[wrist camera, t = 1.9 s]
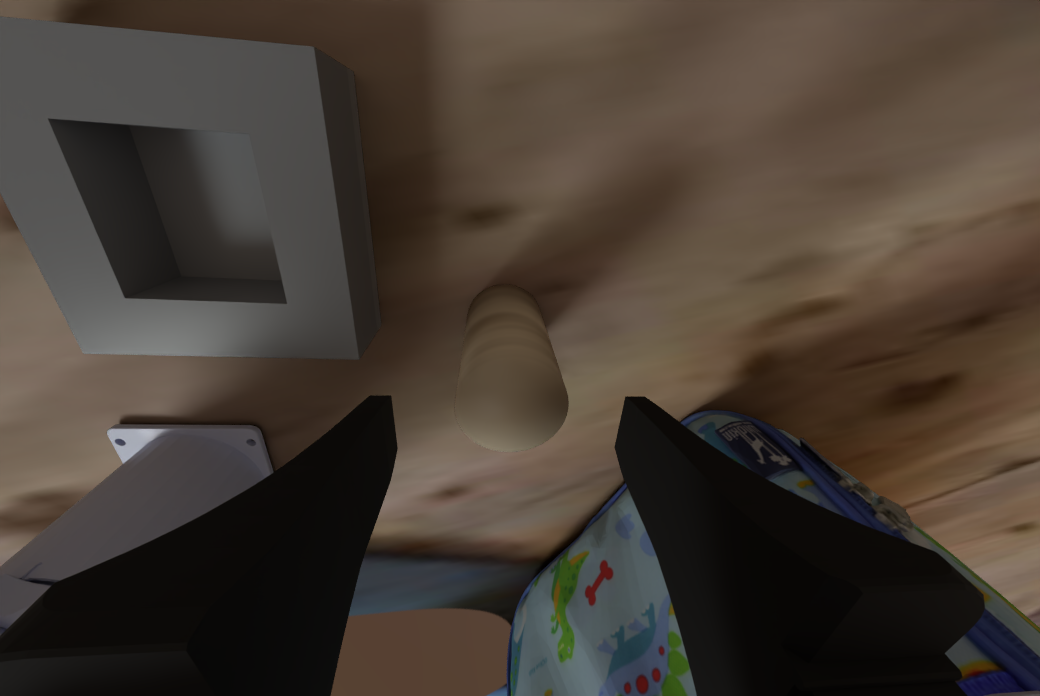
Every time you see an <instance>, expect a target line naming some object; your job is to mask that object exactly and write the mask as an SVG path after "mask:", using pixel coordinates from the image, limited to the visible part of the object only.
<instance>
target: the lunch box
mask: <svg viewBox="0 0 1040 696" xmlns="http://www.w3.org/2000/svg"><path fill="white" fill-rule="evenodd" d="M680 423H681V424H683V425H684V426H685V427H687V428H688V429H689V430H691V431H692V432H694V433H695V434H696V435H698V436H699V437H701V438H702V439H703V440H705V441H706V442H708V443H709V444H711V445H712V446H713V447H715V448H717V449H718V450H720V451H721V452H723V453H724V454H726V455H727V456H729V457H730V458H732V459H733V460H735V461H737V462H738V463H740V464H741V465H743V466H745V467H746V468H748V469H750V470H752V471H753V472H755V473H757V474H759V475H760V476H762V477H764V478H766V479H767V480H769V481H771V482H773V483H775V484H777V485H779V486H781V487H782V488H784V489H786V490H788V491H790V492H792V493H794V494H797V495H799V496H801V497H803V498H805V499H807V500H809V501H811V502H813V503H815V504H817V505H819V506H822V507H824V508H826V509H828V510H830V511H833V512H835V513H837V514H840V515H842V516H844V517H847V518H849V519H851V520H854V521H856V522H859V523H861V524H863V525H866V526H868V527H871V528H873V529H876V530H878V531H881V532H884V533H887V534H889V535H892V536H895V537H898V538H900V539H903V540H906V541H908V542H911V543H914V544H917V545H919V546H922V547H925V548H927V549H930V550H933V551H935V552H937V553H938V554H939V555H941V556H942V557H943V558H944V559H945V560H946V561H947V562H949V563H950V564H951V565H952V566H953V567H954V568H955V569H956V570H957V571H959V572H960V573H961V574H962V575H963V576H964V577H965V578H966V579H967V580H968V581H970V582H971V583H972V584H973V585H974V586H975V587H976V588H977V589H978V590H979V591H980V592H981V593H982V594H983V595H984V602H985V610H984V612H983V614H982V616H981V618H980V619H979V621H978V622H977V623H976V624H975V625H974V626H973V627H972V628H971V629H970V630H969V631H968V632H967V633H966V634H965V635H964V636H963V637H962V638H961V639H960V640H959V641H957V642H956V643H955V644H954V645H953V646H952V647H951V648H950V649H949V650H948V651H947V652H946V653H945V654H946V655H947V656H948V658H949V659H950V660H951V661H952V662H953V663H954V664H955V665H956V666H957V667H958V668H959V670H960V671H961V673H962V676H963V677H962V678H961V679H960V680H959V681H955V682H956V683H957V684H958V685H959V687H960V688H961V689H962V690H963V691H964V692H965V693H966V694H967V696H984V695H990V694H998V693H1012V692H1026V691H1040V628H1039V627H1038V626H1037V625H1036V624H1034V623H1033V622H1032V621H1031V620H1030V619H1029V618H1027V617H1026V616H1025V615H1024V614H1023V613H1022V612H1021V611H1019V610H1018V609H1017V608H1016V607H1015V606H1014V605H1012V604H1011V603H1010V602H1009V601H1008V600H1007V599H1005V598H1004V597H1003V596H1002V595H1001V594H1000V593H998V592H997V591H996V590H995V589H994V588H992V587H991V586H990V585H989V584H988V583H986V582H985V581H984V580H983V579H982V578H980V577H979V576H978V575H977V574H976V573H974V572H973V571H972V570H971V569H970V568H968V567H967V566H966V565H965V564H964V563H962V562H961V561H960V560H959V559H958V558H956V557H955V556H954V555H953V554H951V553H950V552H949V551H948V550H946V549H945V548H944V547H943V546H942V545H940V544H939V543H938V542H937V541H935V540H934V539H933V538H932V537H930V536H929V535H928V534H927V533H925V532H924V531H923V530H922V529H920V528H919V527H918V526H917V525H915V524H914V523H913V522H912V521H911V520H910V516H909V515H908V513H907V512H906V509H904V508H903V507H901V506H900V505H898V504H896V503H895V502H893V501H891V500H889V499H887V498H885V497H882V496H878V495H877V494H876V493H874V492H873V491H872V490H870V489H869V488H868V487H867V486H865V485H864V484H863V483H861V482H859V481H858V480H857V479H855V478H854V477H853V476H851V475H850V474H849V473H847V472H845V471H844V470H842V469H841V468H839V467H838V466H836V465H835V464H833V463H832V462H830V461H829V460H827V459H826V458H825V457H824V456H822V455H821V454H820V453H819V452H818V451H817V450H816V449H815V448H813V447H812V446H811V445H810V444H809V443H808V442H807V441H806V440H805V439H804V438H800V440H798V439H797V438H795V437H794V436H792V435H791V434H789V433H787V432H786V431H784V430H781V429H776V428H774V427H773V426H771V425H770V424H767V423H765V422H763V421H761V420H758V419H756V418H753V417H749V416H746V415H742V414H739V413H736V412H731V411H721V410H709V411H703V412H698V413H695V414H693V415H691V416H688V417H687V418H685V419H684V420H683V421H681V422H680ZM507 696H697V695H696V690H695V686H694V682H693V678H692V674H691V671H690V667H689V663H688V660H687V656H686V652H685V648H684V645H683V641H682V637H681V634H680V630H679V627H678V623H677V620H676V617H675V613H674V610H673V606H672V603H671V600H670V596H669V593H668V590H667V587H666V584H665V580H664V577H663V574H662V571H661V568H660V565H659V562H658V559H657V556H656V553H655V551H654V548H653V546H652V543H651V541H650V538H649V536H648V534H647V532H646V529H645V527H644V525H643V522H642V520H641V518H640V515H639V513H638V511H637V508H636V506H635V504H634V502H633V499H632V497H631V495H630V492H629V490H628V488H627V485H626V483H625V484H624V485H623V486H622V487H621V488H620V489H619V490H618V491H617V492H616V494H615V495H614V496H613V497H612V498H611V499H610V500H609V501H608V502H607V503H606V504H605V505H604V506H603V507H602V509H601V510H600V511H599V513H598V514H597V515H595V516H594V517H593V518H592V519H591V521H590V522H589V524H588V525H587V526H586V528H585V529H584V531H583V533H582V534H581V535H580V536H579V537H578V538H577V539H576V540H575V541H574V542H573V543H572V544H570V545H569V546H568V547H567V548H566V549H565V550H564V551H563V552H562V553H560V554H559V555H558V556H557V557H556V558H555V559H554V560H553V561H552V562H551V563H550V564H548V565H547V566H546V567H545V568H544V569H543V570H542V571H541V572H540V573H539V574H538V575H537V576H536V577H535V578H534V579H533V580H532V581H531V583H530V584H529V585H528V587H527V588H526V590H525V591H524V593H523V595H522V597H521V599H520V601H519V604H518V606H517V609H516V612H515V616H514V619H513V623H512V627H511V632H510V639H509V645H508V657H507Z"/></svg>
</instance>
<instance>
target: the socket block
mask: <svg viewBox="0 0 1040 696" xmlns="http://www.w3.org/2000/svg"><path fill="white" fill-rule="evenodd" d="M0 193H1V195H2V197H3V199H4V201H5V203H6V205H7V207H8V209H9V211H10V213H11V215H12V217H13V219H14V221H15V222H16V224H17V226H18V228H19V230H20V232H21V234H22V236H23V238H24V240H25V242H26V244H27V246H28V248H29V250H30V251H31V253H32V255H33V257H34V259H35V261H36V263H37V265H38V267H39V269H40V271H41V273H42V275H43V277H44V279H45V280H46V282H47V284H48V286H49V288H50V290H51V292H52V294H53V296H54V298H55V300H56V302H57V304H58V306H59V308H60V309H61V311H62V313H63V315H64V317H65V319H66V321H67V323H68V325H69V327H70V329H71V331H72V333H73V335H74V337H75V338H76V340H77V342H78V344H79V346H80V348H81V350H82V352H83V354H126V355H171V356H216V357H261V358H306V359H351V360H359V359H360V358H361V356H362V355H363V353H364V352H365V350H366V348H367V347H368V345H369V344H370V342H371V341H372V339H373V338H374V336H375V334H376V333H377V331H378V330H379V328H380V327H381V317H380V308H379V298H378V289H377V280H376V271H375V262H374V253H373V244H372V235H371V225H370V216H369V207H368V198H367V189H366V180H365V171H364V162H363V152H362V143H361V134H360V125H359V116H358V107H357V98H356V89H355V79H354V72H353V71H352V70H350V69H349V68H347V67H345V66H344V65H342V64H341V63H339V62H337V61H336V60H334V59H333V58H331V57H329V56H328V55H326V54H325V53H323V52H321V51H320V50H318V49H317V48H315V47H312V46H301V45H291V44H281V43H270V42H260V41H249V40H239V39H229V38H218V37H208V36H197V35H187V34H177V33H166V32H156V31H145V30H135V29H125V28H114V27H104V26H94V25H83V24H73V23H62V22H52V21H42V20H31V19H21V18H10V17H0Z"/></svg>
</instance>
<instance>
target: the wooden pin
mask: <svg viewBox="0 0 1040 696" xmlns="http://www.w3.org/2000/svg"><path fill="white" fill-rule="evenodd" d="M454 408H455V416H456V419H457V422H458V424H459V426H460V428H461V429H462V431H463V432H464V433H465V434H466V436H468V437H469V438H470V439H471V440H472V441H474V442H475V443H477V444H479V445H480V446H482V447H485V448H487V449H491V450H494V451H500V452H518V451H524V450H528V449H531V448H534V447H536V446H539V445H541V444H543V443H544V442H546V441H547V440H549V439H550V438H551V437H552V436H553V435H554V434H555V433H556V432H557V431H558V430H559V429H560V427H561V426H562V424H563V423H564V421H565V418H566V416H567V412H568V395H567V391H566V388H565V385H564V382H563V379H562V376H561V373H560V370H559V367H558V363H557V360H556V357H555V354H554V351H553V348H552V345H551V342H550V339H549V336H548V333H547V330H546V327H545V324H544V321H543V317H542V314H541V311H540V308H539V306H538V304H537V302H536V300H535V299H534V298H533V297H532V296H531V295H530V294H529V293H528V292H527V291H525V290H524V289H522V288H519V287H517V286H513V285H496V286H492V287H490V288H487V289H485V290H484V291H482V292H481V293H480V294H478V295H477V296H476V297H475V299H474V300H473V301H472V303H471V305H470V307H469V310H468V314H467V321H466V328H465V335H464V342H463V349H462V356H461V363H460V370H459V376H458V383H457V390H456V397H455V407H454Z"/></svg>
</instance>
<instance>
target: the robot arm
mask: <svg viewBox="0 0 1040 696" xmlns="http://www.w3.org/2000/svg"><path fill="white" fill-rule="evenodd" d="M107 434H108V437H109V438H110V440H111V442H112V444H113V446H114V448H115V449H116V451H117V453H118V455H119V457H120V459H121V460H122V462H123V464H122V465H121V466H120V467H119V468H118V469H116V470H115V471H114V472H113V473H112V474H110V475H109V476H108V477H107V478H106V479H104V480H103V481H102V482H101V483H100V484H99V485H97V486H96V487H95V488H94V489H93V490H91V491H90V492H89V493H88V494H87V495H85V496H84V497H83V498H82V499H81V500H79V501H78V502H77V503H76V504H75V505H73V506H72V507H71V508H70V509H69V510H67V511H66V512H65V513H64V514H63V515H61V516H60V517H59V518H58V519H57V520H56V521H54V522H53V523H52V524H51V525H50V526H48V527H47V528H46V529H45V530H44V531H42V532H41V533H40V534H39V535H38V536H36V537H35V538H34V539H33V540H32V541H30V542H29V543H28V544H27V545H26V546H24V547H23V548H22V549H21V550H20V551H18V552H17V553H16V554H15V555H14V556H12V557H11V558H10V559H9V560H8V561H7V562H5V563H4V564H3V565H2V566H1V567H0V696H330V695H331V690H332V685H333V681H334V677H335V672H336V668H337V663H338V658H339V654H340V649H341V645H342V640H343V636H344V632H345V628H346V623H347V619H348V615H349V611H350V607H351V603H352V599H353V595H354V591H355V587H356V583H357V579H358V575H359V571H360V567H361V564H362V561H363V558H364V554H365V551H366V548H367V546H368V543H369V540H370V537H371V534H372V532H373V529H374V526H375V523H376V520H377V518H378V515H379V512H380V509H381V506H382V504H383V501H384V498H385V495H386V492H387V489H388V487H389V484H390V481H391V477H392V473H393V468H394V464H395V459H396V454H397V449H398V448H397V440H396V432H395V424H394V416H393V408H392V399H391V396H369V397H368V398H366V399H365V400H364V401H363V402H362V403H361V404H360V405H358V406H357V407H356V408H355V409H354V410H353V411H352V412H350V413H349V414H348V415H347V416H346V417H345V418H343V419H342V420H341V421H340V422H339V423H338V424H336V425H335V426H334V427H333V428H332V429H331V430H329V431H328V432H327V433H326V434H325V435H323V436H322V437H321V438H320V439H318V440H317V441H316V442H314V443H313V444H312V445H310V446H309V447H308V448H307V449H305V450H304V451H303V452H301V453H300V454H299V455H297V456H296V457H295V458H294V459H292V460H291V461H289V462H288V463H287V464H285V465H284V466H282V467H281V468H279V469H278V470H277V471H275V472H273V468H272V465H271V462H270V459H269V455H268V452H267V449H266V446H265V442H264V439H263V436H262V433H261V431H260V429H259V428H258V427H256V426H252V425H146V424H117V425H114V426H112V427H111V428H110V429H108V431H107ZM251 439H253V440H254V441H252V440H251ZM615 450H616V454H617V458H618V462H619V465H620V468H621V472H622V475H623V478H624V480H625V483H626V485H627V488H628V490H629V492H630V495H631V497H632V499H633V502H634V504H635V506H636V508H637V511H638V513H639V515H640V518H641V520H642V522H643V525H644V527H645V529H646V532H647V534H648V536H649V538H650V541H651V543H652V546H653V548H654V551H655V553H656V556H657V559H658V562H659V565H660V568H661V571H662V574H663V577H664V580H665V584H666V587H667V590H668V593H669V596H670V600H671V603H672V606H673V610H674V613H675V617H676V620H677V623H678V627H679V630H680V634H681V637H682V641H683V645H684V648H685V652H686V656H687V660H688V663H689V667H690V671H691V674H692V678H693V682H694V686H695V690H696V695H697V696H967V694H966V693H965V692H964V691H963V690H962V689H961V688H960V687H959V685H958V684H957V683H956V682H955V681H959V680H960V679H961V678H962V677H963V676H962V673H961V671H960V670H959V668H958V667H957V666H956V665H955V664H954V663H953V662H952V661H951V660H950V659H949V658H948V656H947V655H946V654H945V653H946V652H947V651H948V650H949V649H950V648H951V647H952V646H953V645H954V644H955V643H956V642H957V641H959V640H960V639H961V638H962V637H963V636H964V635H965V634H966V633H967V632H968V631H969V630H970V629H971V628H972V627H973V626H974V625H975V624H976V623H977V622H978V621H979V619H980V618H981V616H982V614H983V612H984V610H985V602H984V595H983V594H982V593H981V592H980V591H979V590H978V589H977V588H976V587H975V586H974V585H973V584H972V583H971V582H970V581H968V580H967V579H966V578H965V577H964V576H963V575H962V574H961V573H960V572H959V571H957V570H956V569H955V568H954V567H953V566H952V565H951V564H950V563H949V562H947V561H946V560H945V559H944V558H943V557H942V556H941V555H939V554H938V553H937V552H935V551H933V550H930V549H927V548H925V547H922V546H919V545H917V544H914V543H911V542H908V541H906V540H903V539H900V538H898V537H895V536H892V535H889V534H887V533H884V532H881V531H878V530H876V529H873V528H871V527H868V526H866V525H863V524H861V523H859V522H856V521H854V520H851V519H849V518H847V517H844V516H842V515H840V514H837V513H835V512H833V511H830V510H828V509H826V508H824V507H822V506H819V505H817V504H815V503H813V502H811V501H809V500H807V499H805V498H803V497H801V496H799V495H797V494H794V493H792V492H790V491H788V490H786V489H784V488H782V487H781V486H779V485H777V484H775V483H773V482H771V481H769V480H767V479H766V478H764V477H762V476H760V475H759V474H757V473H755V472H753V471H752V470H750V469H748V468H746V467H745V466H743V465H741V464H740V463H738V462H737V461H735V460H733V459H732V458H730V457H729V456H727V455H726V454H724V453H723V452H721V451H720V450H718V449H717V448H715V447H713V446H712V445H711V444H709V443H708V442H706V441H705V440H703V439H702V438H701V437H699V436H698V435H696V434H695V433H694V432H692V431H691V430H689V429H688V428H687V427H685V426H684V425H683V424H681V423H680V422H679V421H677V420H676V419H675V418H673V417H672V416H671V415H669V414H668V413H667V412H665V411H664V410H663V409H661V408H660V407H659V406H657V405H656V404H655V403H653V402H652V401H650V400H649V399H647V398H646V397H625V401H624V406H623V411H622V415H621V420H620V425H619V429H618V434H617V439H616V443H615ZM984 696H1040V691H1026V692H1012V693H998V694H990V695H984Z"/></svg>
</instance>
